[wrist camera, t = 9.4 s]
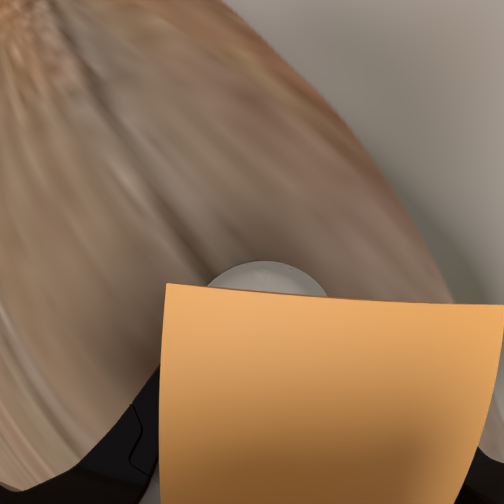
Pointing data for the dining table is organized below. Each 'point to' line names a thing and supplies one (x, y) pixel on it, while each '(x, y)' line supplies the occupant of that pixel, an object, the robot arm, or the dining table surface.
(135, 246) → the dining table surface
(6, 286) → the dining table surface
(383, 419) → the orange rectangular block
